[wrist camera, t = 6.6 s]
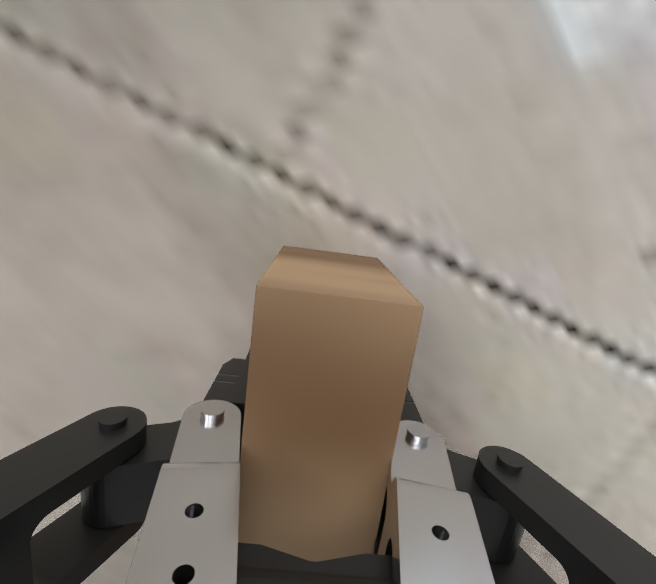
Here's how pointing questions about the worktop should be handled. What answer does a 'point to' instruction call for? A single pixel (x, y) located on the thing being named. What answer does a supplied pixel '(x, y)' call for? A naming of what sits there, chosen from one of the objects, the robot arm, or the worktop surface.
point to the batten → (323, 402)
